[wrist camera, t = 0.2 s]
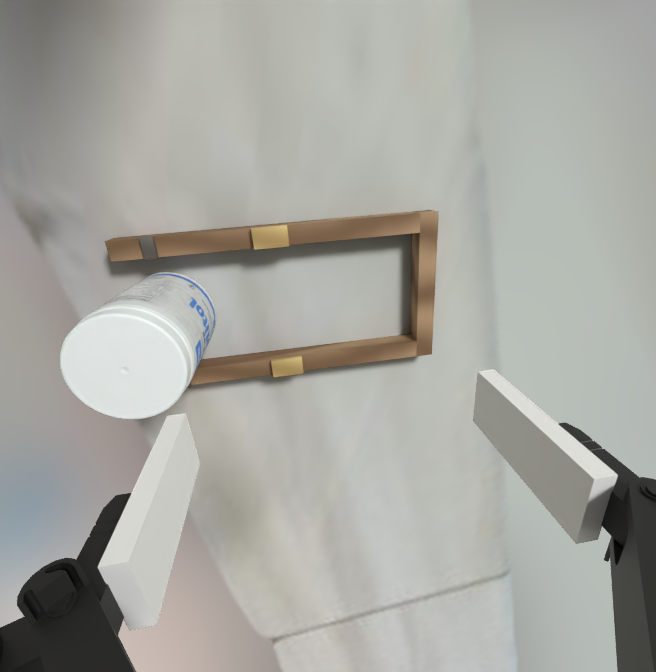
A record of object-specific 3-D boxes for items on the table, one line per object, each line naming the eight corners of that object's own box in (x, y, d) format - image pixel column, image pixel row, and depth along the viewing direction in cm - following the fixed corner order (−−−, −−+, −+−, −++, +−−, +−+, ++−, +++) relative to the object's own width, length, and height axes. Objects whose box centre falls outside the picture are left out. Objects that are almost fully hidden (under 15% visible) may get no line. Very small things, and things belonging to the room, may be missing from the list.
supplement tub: (230, 335, 43) (210, 403, 30) (154, 359, 43) (100, 438, 30) (195, 257, 39) (155, 296, 26) (112, 284, 39) (28, 336, 26)
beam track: (114, 237, 38) (102, 241, 35) (429, 209, 41) (440, 211, 38) (157, 380, 44) (149, 393, 42) (424, 346, 48) (433, 356, 45)
